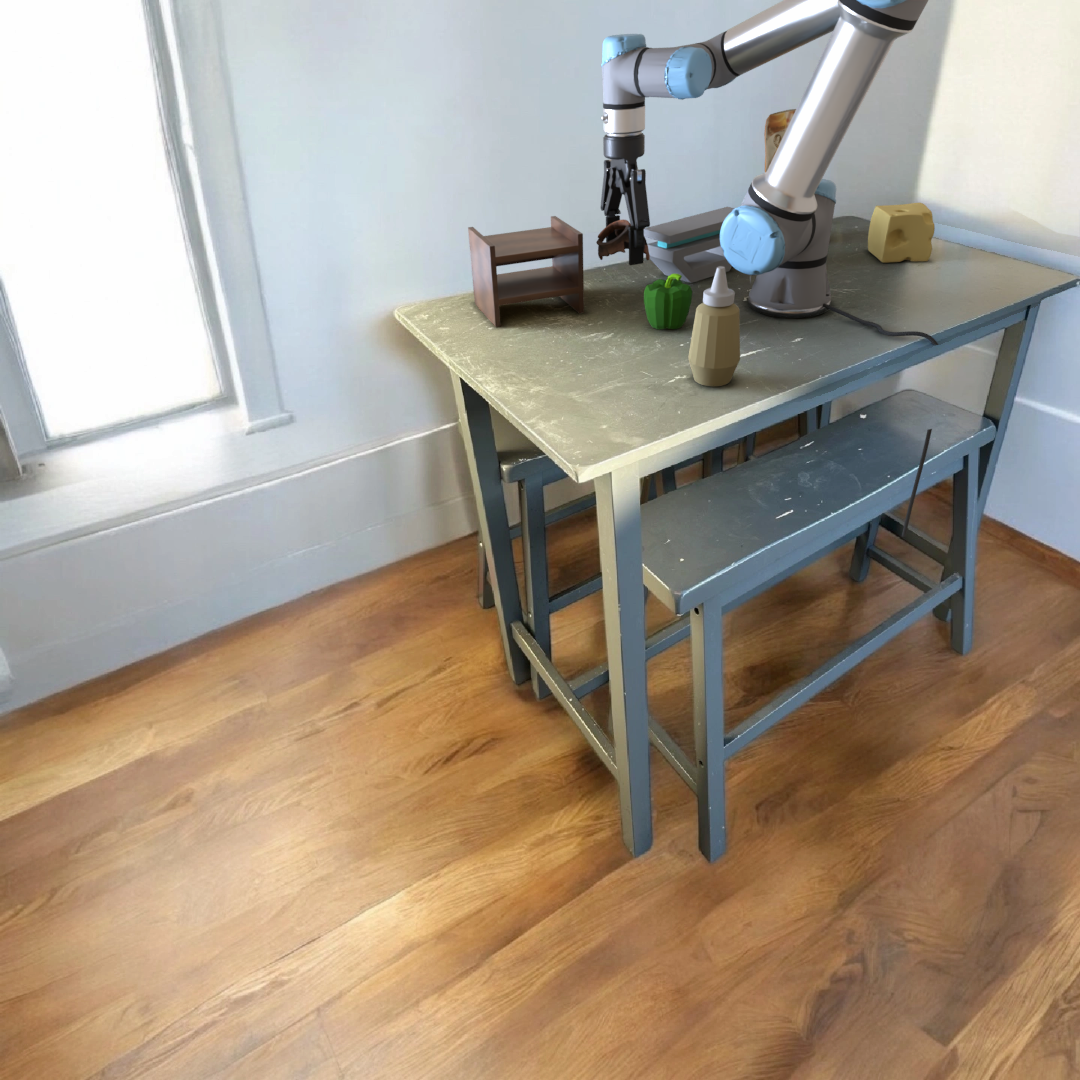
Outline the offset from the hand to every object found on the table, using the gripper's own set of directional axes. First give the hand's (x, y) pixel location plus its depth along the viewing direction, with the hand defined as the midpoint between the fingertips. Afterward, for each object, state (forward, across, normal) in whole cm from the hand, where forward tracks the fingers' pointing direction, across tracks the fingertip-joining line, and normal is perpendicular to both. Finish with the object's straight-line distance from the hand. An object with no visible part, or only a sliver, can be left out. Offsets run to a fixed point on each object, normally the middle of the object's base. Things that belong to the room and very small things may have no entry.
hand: (624, 256), depth 167 cm
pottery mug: (0, 0, 0) cm, 0 cm away
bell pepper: (+9, +18, +1) cm, 20 cm away
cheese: (+9, 0, +65) cm, 65 cm away
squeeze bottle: (+9, +42, -3) cm, 44 cm away
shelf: (+8, -4, -19) cm, 21 cm away
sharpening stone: (+9, -8, +21) cm, 24 cm away
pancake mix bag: (+9, -21, +49) cm, 54 cm away
